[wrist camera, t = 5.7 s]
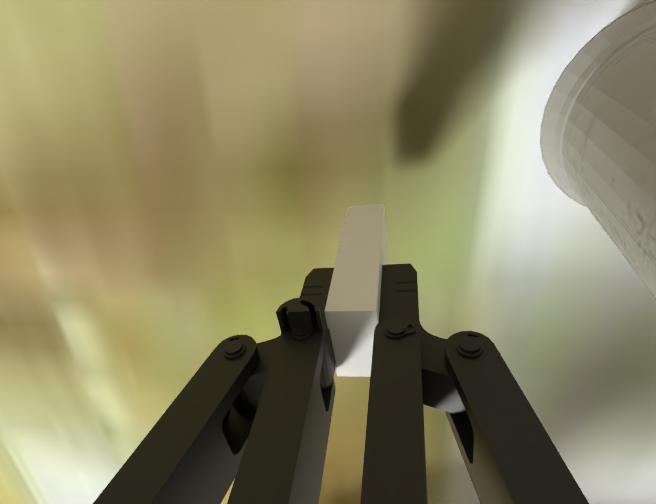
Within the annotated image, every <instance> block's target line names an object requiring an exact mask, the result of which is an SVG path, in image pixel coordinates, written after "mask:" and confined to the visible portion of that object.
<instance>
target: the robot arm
mask: <svg viewBox="0 0 656 504" xmlns="http://www.w3.org/2000/svg"><path fill="white" fill-rule="evenodd" d="M276 314H277V318H278V321H279V325H280V329H281V332H282V333H281V336H279V337H277V338H275V339H272V340H269V341H265V342H261V343H257V344H256V342H255V340H254V339H253V338H252V337H250V336H247V335H236V336H232V337H229V338H227V339H225V340H223V341H222V342H221V343H220V344H219V345H218V346H217V347H216V348H215V349H214V350H213V352H212V353H211V354H210V356H209V357H208V358H207V359H206V361H205V362H204V363H203V364H202V366H201V367H200V368H199V370H198V371H197V372H196V373H195V375H194V376H193V377H192V378H191V380H190V381H189V382H188V384H187V385H186V386H185V387H184V389H183V390H182V391H181V392H180V394H179V395H178V396H177V398H176V399H175V400H174V401H173V403H172V404H171V405H170V406H169V408H168V409H167V410H166V412H165V413H164V414H163V415H162V417H161V418H160V419H159V420H158V422H157V423H156V424H155V425H154V427H153V428H152V429H151V431H150V432H149V433H148V434H147V436H146V437H145V438H144V439H143V441H142V442H141V443H140V445H139V446H138V447H137V448H136V450H135V451H134V452H133V453H132V455H131V456H130V457H129V459H128V460H127V461H126V462H125V464H124V465H123V466H122V467H121V469H120V470H119V471H118V473H117V474H116V475H115V476H114V478H113V479H112V480H111V481H110V483H109V484H108V485H107V487H106V488H105V489H104V490H103V492H102V493H101V494H100V495H99V497H98V498H97V499H96V501H95V502H94V503H93V504H221V502H222V500H223V498H224V497H225V495H226V493H227V491H228V489H229V488H230V486H231V484H232V482H233V481H234V479H235V481H234V484H233V487H232V490H231V493H230V496H229V500H228V503H227V504H318V502H319V496H320V489H321V483H322V476H323V469H324V463H325V456H326V449H327V443H328V436H329V429H330V423H331V416H332V409H333V403H334V396H335V383H334V378H333V377H334V371H335V367H336V372H337V376H371V377H370V390H369V402H368V415H367V428H366V441H365V454H364V466H363V479H362V492H361V504H428V502H427V480H426V457H425V435H424V413H423V404H424V405H427V406H431V407H434V408H437V409H440V410H443V411H446V415H447V418H448V420H449V423H450V426H451V428H452V431H453V433H454V436H455V439H456V441H457V444H458V446H459V449H460V451H461V454H462V457H463V459H464V462H465V464H466V467H467V469H468V472H469V475H470V477H471V480H472V482H473V485H474V488H475V490H476V493H477V495H478V498H479V500H480V503H481V504H589V503H588V501H587V500H586V498H585V496H584V495H583V493H582V491H581V489H580V488H579V486H578V484H577V483H576V481H575V479H574V478H573V476H572V474H571V473H570V471H569V469H568V468H567V466H566V464H565V463H564V461H563V459H562V458H561V456H560V454H559V452H558V451H557V449H556V447H555V446H554V444H553V442H552V441H551V439H550V437H549V436H548V434H547V432H546V431H545V429H544V427H543V426H542V424H541V422H540V421H539V419H538V417H537V415H536V414H535V412H534V410H533V409H532V407H531V405H530V404H529V402H528V400H527V399H526V397H525V395H524V394H523V392H522V390H521V389H520V387H519V385H518V383H517V382H516V380H515V378H514V377H513V375H512V373H511V372H510V370H509V368H508V367H507V365H506V363H505V362H504V360H503V358H502V357H501V355H500V353H499V352H498V350H497V348H496V346H495V345H494V343H493V342H492V341H491V340H490V339H489V338H488V337H486V336H484V335H483V334H481V333H477V332H473V331H461V332H458V333H455V334H453V335H452V336H450V337H449V338H448V339H443V338H439V337H436V336H433V335H431V334H430V333H428V332H426V331H425V330H424V329H423V328H422V326H421V324H420V321H419V307H418V287H417V272H416V270H415V269H414V268H413V266H412V265H411V264H392V265H389V254H388V243H387V231H386V220H385V209H384V204H375V205H360V206H348V207H347V211H346V216H345V220H344V225H343V230H342V234H341V239H340V243H339V248H338V252H337V257H336V262H335V266H334V268H317V269H313V270H312V271H311V272H310V273H309V274H308V275H307V277H306V278H305V282H304V285H303V288H302V292H301V296H300V298H295V299H292V300H289V301H287V302H285V303H284V304H282V305H281V306H280V307H279V308H278V310H277V311H276ZM235 477H236V478H235Z"/></svg>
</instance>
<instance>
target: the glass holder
mask: <svg viewBox="0 0 656 504" xmlns="http://www.w3.org/2000/svg"><path fill="white" fill-rule="evenodd" d="M540 145H541V151H542V157H543V161H544V163H545V166H546V169H547V171H548V174H549V175H550V177H551V178H552V179H553V181H554V182H555V184H556V185H557V187H559V188H560V189H561V190H562V191H563V192H564V193H565V194H566V195H567V196H568V197H570V198H571V199H573V200H574V201H576V202H578V203H579V204H581V205H583V206H586V207H588V209H589V210H590V211H591V213H592V214H593V215H594V217H595V218H596V219H597V221H598V222H599V223H600V225H601V226H602V227H603V229H604V230H605V231H606V233H607V234H608V235H609V237H610V238H611V239H612V241H613V242H614V244H615V245H616V246H617V248H618V249H619V250H620V252H621V253H622V254H623V256H624V257H625V258H626V260H627V261H628V262H629V264H630V265H631V266H632V268H633V269H634V270H635V272H636V273H637V274H638V276H639V277H640V278H641V280H642V281H643V282H644V284H645V285H646V286H647V288H648V289H649V290H650V292H651V293H652V294H653V296H654V297H655V298H656V1H654V2H651V3H649V4H646V5H643V6H641V7H639V8H638V9H636V10H634V11H632V12H630V13H628V14H626V15H624V16H623V17H621V18H619V19H618V20H616V21H615V22H613V23H612V24H611V25H609V26H608V27H606V28H605V29H604V30H602V31H601V32H600V33H598V34H597V35H596V36H595V37H594V38H593V39H592V40H591V41H590V42H589V43H588V44H586V45H585V46H584V47H583V48H582V49H581V50H580V51H579V52H578V54H577V55H576V56H575V57H574V58H573V60H572V61H571V62H570V63H569V65H568V66H567V67H566V68H565V70H564V71H563V73H562V75H561V76H560V78H559V80H558V81H557V83H556V85H555V86H554V88H553V90H552V92H551V95H550V97H549V100H548V102H547V104H546V107H545V111H544V115H543V120H542V124H541V138H540Z"/></svg>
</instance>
